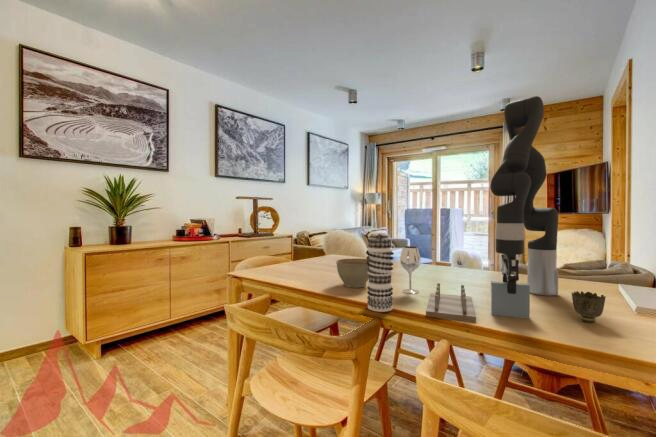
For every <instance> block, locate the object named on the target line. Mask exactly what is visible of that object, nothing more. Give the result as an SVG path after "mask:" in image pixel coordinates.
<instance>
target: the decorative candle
mask: <svg viewBox="0 0 656 437" xmlns="http://www.w3.org/2000/svg"><path fill="white" fill-rule="evenodd" d="M367 239H368V247H367V250H366V252H365V253H366V255H367V256H366V258H365V259H367V260H368V261H367V265H368V266H369V267H367V270H368V272H367V273H368V274H369V279H368V281H367V284H368V285H367V294H368V295H367V298H366V299H367V302H366V303H367V309H368V310H371V311H373V312H378V313H379V312H390V311H392V310H393V309H394V307H393V304H394V302H393V301H394V298H393V294H394V293H393V289H394V287H393V281H392V275H393V271H392V270H394V268H393V267H392V266H394V262H392V261H393V260H394V259H395V258H394V257H393V256H394V254H395V253H394V252H393V251H392V250H393V248H392V238H391V237H390V235H389V233H382V232H381V233H380V232H379V233H378V232H376V233H371V234H370V235H369V237H367Z"/></svg>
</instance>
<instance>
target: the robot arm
mask: <svg viewBox="0 0 656 437" xmlns="http://www.w3.org/2000/svg"><path fill="white" fill-rule="evenodd" d="M503 110H504V111H503V113H504V115H503V116H504V122H505V125H506V130H507V133H508V138H509V140H510V141H509V143H508V144H507V145H506V148H505V150H504V153H503V158H502V161H501V164H500V165H499V167H498V169H497V170H496V171H495V173H494V175H492V176H493V177H492V178H491V181H490V190H491V193H492V194H493V195H494V196H496V197H513V196H514V199H513V200H512V201H510V202H508V203H502V204H499V205H498V206H497V208H496V227H495V252H496V253H498V254H501V255H500V256H501V259H500V261H501V264H500V265H501V267H500V271H501V275H502V282H507V292H508V293H509V294H516V283H518V281H519V279H520V274H519V272H520V270H519V266H520V264H519V263H520V262H519V261H520V260H519V259H517V257H516V256H518V255H523V254H525V229H526V231H529V232H545V233H544V234H543V236H542V237H539V238H537V239H536V238H535V239H532V240H529V241H528V242H527V279H526V280H527V281H526V282H527V283H526V284H529V285H530V294H533V295H539V296H549V297H550V296H559V270H558V269H557V263H558V262H557V260H558V259H557V258H558V257H557V252H558V251H557V250H558V229H559V213H558V210H557V209H556V208H555V207H535V206H534V200H535V198H536V195H537V194H538V191H539V190H540V188H541V187H542V186H543V184H544V183H545V181H546V178H547V174H548V173H547V167H546V166H547V165H546V160H545V157H544V156H543V155H542V153H541V152H540V151H539V150H538V149H537V148H535V147H534V146H533V143H534V140H535V138H536V136H537V135H538V132H539V129H540V127H541V124H542V122H543V118H544V113H545V106H544V102H543V99H542V98H541V97H540V96H538V95H535V96H530V97H527V98H526V97H525V98H523V99H519V100H518V99H517V100H513V101H511V102H508V103H507V104H506V105H504V108H503ZM521 128H522V129H521Z"/></svg>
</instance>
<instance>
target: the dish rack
mask: <svg viewBox="0 0 656 437" xmlns="http://www.w3.org/2000/svg"><path fill="white" fill-rule="evenodd" d="M435 289H436V290H435V292H434V293H433V292H430V294H429V297H428V301H427V305H426V309H425V317H431V318H439V319H440V318H441V319H447V320H457V321H458V320H459V321H466V322H473V323H476V322H477V315H476V309H475V306H474V302H473V298H472V296H467V294H466V288H465V285H464V284H461V285H460V295H456V294H447V293H441V283H440V282H437V284H436V288H435Z"/></svg>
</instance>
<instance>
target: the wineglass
mask: <svg viewBox="0 0 656 437" xmlns="http://www.w3.org/2000/svg"><path fill="white" fill-rule="evenodd" d="M421 259H422V258H421V255H420V250H419V247H418V246H414V245H413V246H411V245H410V246H409V245H408V246H407V245H405V246H403V247H402V249H401V252H400V257H399V264H400V266H401V267H402V268H403V269H404V270H405V271H407V273H408V276H409V277H408V284H409V285H408V288H405V289H404V288H403V289H402V290H401V291H402V292H403V293H405V294H410V295H411V294H412V295H415V294H416V295H417V294H419V290H417V289H412V274H413V272H415V271H416V270H417V269H418V268H419V267H420V265H421V262H422V260H421Z"/></svg>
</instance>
